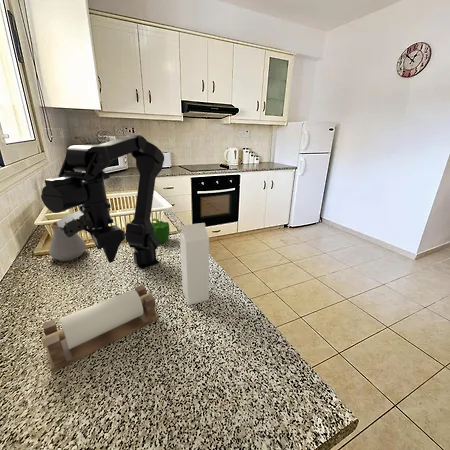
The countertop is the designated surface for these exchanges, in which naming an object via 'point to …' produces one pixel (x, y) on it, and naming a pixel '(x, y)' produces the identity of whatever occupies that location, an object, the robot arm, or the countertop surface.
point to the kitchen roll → (99, 318)
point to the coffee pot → (65, 245)
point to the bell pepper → (161, 230)
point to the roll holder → (65, 356)
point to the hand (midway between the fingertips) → (105, 255)
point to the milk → (195, 262)
